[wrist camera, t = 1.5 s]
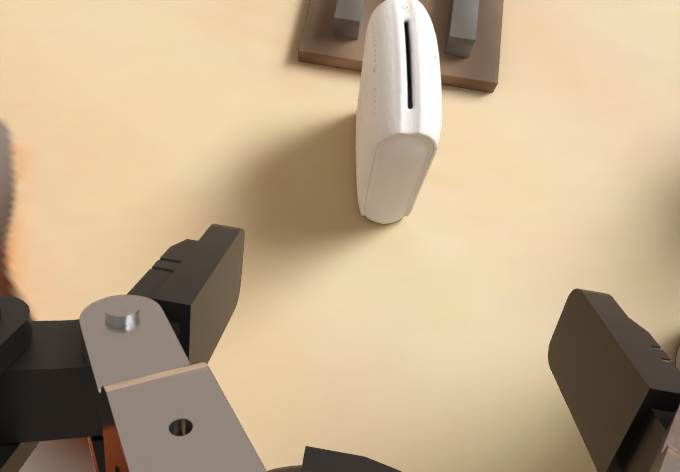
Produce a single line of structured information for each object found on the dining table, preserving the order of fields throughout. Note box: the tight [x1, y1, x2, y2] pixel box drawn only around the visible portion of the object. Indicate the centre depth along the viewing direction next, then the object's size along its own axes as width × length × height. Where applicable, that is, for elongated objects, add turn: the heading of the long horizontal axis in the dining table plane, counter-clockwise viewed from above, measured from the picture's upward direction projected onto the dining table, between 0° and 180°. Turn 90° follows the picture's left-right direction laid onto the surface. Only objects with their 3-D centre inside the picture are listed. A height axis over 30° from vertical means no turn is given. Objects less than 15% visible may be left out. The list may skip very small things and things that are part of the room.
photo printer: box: [356, 0, 442, 224], centre depth 33 cm, size 10×4×12 cm, turn 0°
